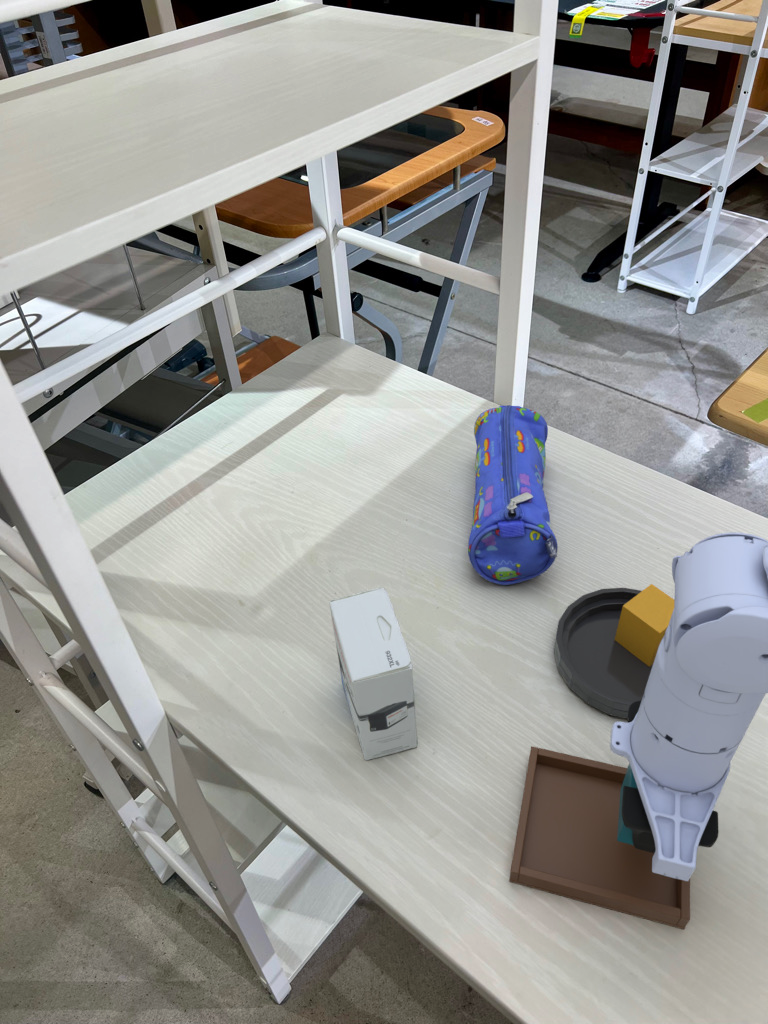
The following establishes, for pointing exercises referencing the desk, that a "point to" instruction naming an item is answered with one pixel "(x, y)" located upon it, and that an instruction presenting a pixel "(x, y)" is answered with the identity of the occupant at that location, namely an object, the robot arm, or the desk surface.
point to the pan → (599, 653)
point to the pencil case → (510, 497)
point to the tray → (588, 842)
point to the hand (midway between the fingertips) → (650, 814)
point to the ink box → (375, 672)
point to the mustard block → (645, 623)
